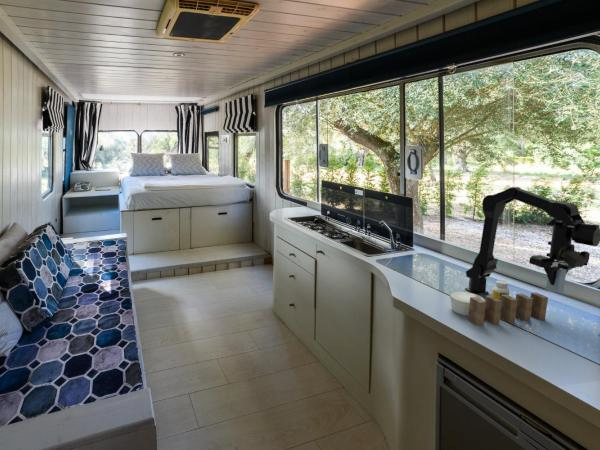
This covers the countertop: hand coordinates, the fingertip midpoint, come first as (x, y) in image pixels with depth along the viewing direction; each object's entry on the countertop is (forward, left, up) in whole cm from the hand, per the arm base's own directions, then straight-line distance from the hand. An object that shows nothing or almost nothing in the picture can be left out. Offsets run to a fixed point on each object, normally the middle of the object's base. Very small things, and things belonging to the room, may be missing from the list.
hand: (555, 284), depth 142 cm
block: (0, 0, -2) cm, 2 cm away
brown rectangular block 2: (0, -6, -11) cm, 13 cm away
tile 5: (0, -30, -11) cm, 32 cm away
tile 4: (0, -24, -11) cm, 27 cm away
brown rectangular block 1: (0, -12, -11) cm, 17 cm away
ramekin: (-9, -27, -12) cm, 31 cm away
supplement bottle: (-10, -13, -12) cm, 20 cm away
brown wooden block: (0, -18, -11) cm, 21 cm away
